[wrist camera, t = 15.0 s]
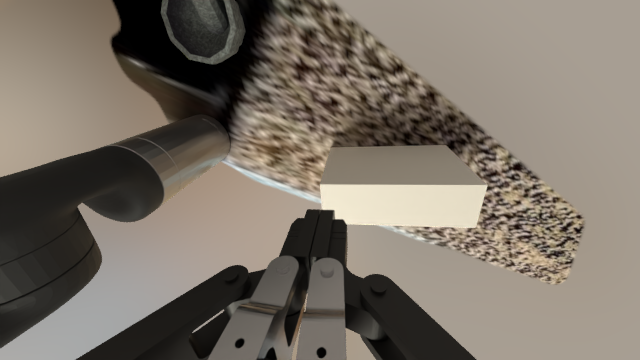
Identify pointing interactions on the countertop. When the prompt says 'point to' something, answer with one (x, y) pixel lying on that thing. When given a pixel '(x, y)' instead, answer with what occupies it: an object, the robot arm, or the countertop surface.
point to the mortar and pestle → (204, 28)
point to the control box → (401, 186)
